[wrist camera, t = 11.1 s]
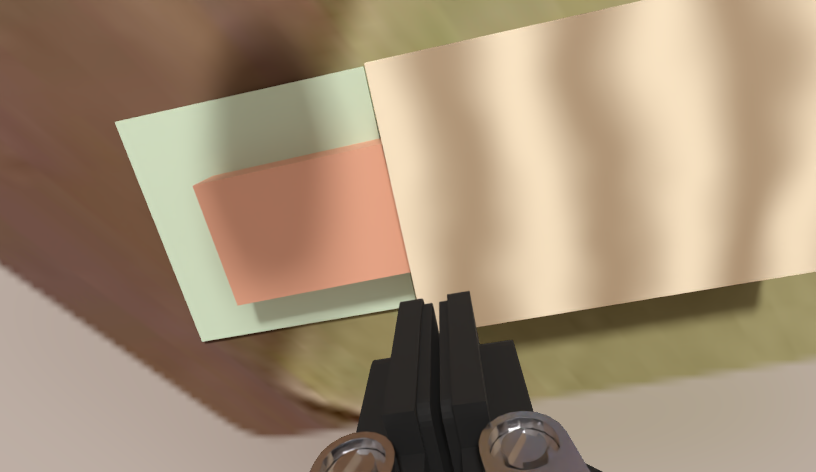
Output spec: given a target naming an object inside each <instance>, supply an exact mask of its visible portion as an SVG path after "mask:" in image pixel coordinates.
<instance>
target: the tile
mask: <svg viewBox="0 0 816 472" xmlns="http://www.w3.org/2000/svg"><path fill="white" fill-rule="evenodd" d="M193 189H194V192H195V194H196V197H197V200H198V202H199V205H200V208H201V210H202V213H203V216H204V218H205V221H206V223H207V226H208V229H209V231H210V234H211V237H212V239H213V242H214V245H215V247H216V250H217V253H218V255H219V258H220V260H221V263H222V266H223V268H224V271H225V274H226V276H227V279H228V282H229V284H230V287H231V290H232V292H233V295H234V298H235V300H236V303H237V305H244V304H249V303H254V302H259V301H264V300H270V299H275V298H280V297H285V296H290V295H296V294H301V293H306V292H311V291H316V290H321V289H327V288H332V287H337V286H342V285H347V284H353V283H358V282H363V281H368V280H373V279H379V278H384V277H389V276H394V275H399V274H405V273H410V272H411V271H410V266H409V262H408V257H407V253H406V248H405V244H404V239H403V235H402V230H401V226H400V221H399V217H398V213H397V208H396V204H395V199H394V195H393V190H392V186H391V181H390V177H389V172H388V168H387V163H386V159H385V154H384V150H383V145H382V141H381V138H379V139H375V140H370V141H366V142H361V143H357V144H352V145H348V146H344V147H339V148H335V149H330V150H326V151H321V152H317V153H312V154H308V155H303V156H299V157H294V158H290V159H285V160H281V161H277V162H272V163H268V164H263V165H259V166H254V167H250V168H245V169H241V170H236V171H232V172H227V173H223V174H218V175H214V176H211V177H209V178H207V179H205V180H203V181H201V182H199V183H197V184H195V185H193Z"/></svg>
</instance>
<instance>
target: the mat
mask: <svg viewBox="0 0 816 472" xmlns="http://www.w3.org/2000/svg"><path fill="white" fill-rule="evenodd" d="M115 124H116V127H117V129H118V132H119V134H120V137H121V139H122V142H123V144H124V147H125V149H126V152H127V154H128V157H129V159H130V162H131V164H132V167H133V169H134V172H135V174H136V177H137V179H138V182H139V184H140V187H141V189H142V192H143V194H144V197H145V199H146V202H147V204H148V207H149V209H150V212H151V214H152V217H153V219H154V222H155V224H156V227H157V229H158V232H159V234H160V237H161V239H162V242H163V244H164V247H165V250H166V252H167V255H168V257H169V260H170V262H171V265H172V267H173V270H174V272H175V275H176V277H177V280H178V282H179V285H180V287H181V290H182V292H183V295H184V297H185V300H186V302H187V305H188V307H189V310H190V312H191V315H192V317H193V320H194V322H195V325H196V327H197V330H198V332H199V335H200V337H201V340H202V342H204V341H210V340H215V339H221V338H227V337H233V336H239V335H245V334H250V333H256V332H262V331H268V330H274V329H280V328H286V327H291V326H297V325H303V324H309V323H315V322H321V321H326V320H332V319H338V318H344V317H350V316H356V315H362V314H367V313H373V312H379V311H385V310H391V309H397V308H399V304H400V302H403V301H409V300H415V299H416V296H415V292H414V287H413V283H412V278H411V274H410V273H405V274H399V275H394V276H389V277H384V278H379V279H373V280H368V281H363V282H358V283H353V284H347V285H342V286H337V287H332V288H327V289H321V290H316V291H311V292H306V293H301V294H296V295H290V296H285V297H280V298H275V299H270V300H264V301H259V302H254V303H249V304H244V305H237V303H236V300H235V298H234V295H233V292H232V290H231V287H230V284H229V282H228V279H227V276H226V274H225V271H224V268H223V266H222V263H221V260H220V258H219V255H218V253H217V250H216V247H215V245H214V242H213V239H212V237H211V234H210V231H209V229H208V226H207V223H206V221H205V218H204V216H203V213H202V210H201V208H200V205H199V202H198V200H197V197H196V194H195V192H194V189H193V185H195V184H197V183H199V182H201V181H203V180H205V179H207V178H209V177H211V176H214V175H218V174H223V173H227V172H232V171H236V170H241V169H245V168H250V167H254V166H259V165H263V164H268V163H272V162H277V161H281V160H285V159H290V158H294V157H299V156H303V155H308V154H312V153H317V152H321V151H326V150H330V149H335V148H339V147H344V146H348V145H352V144H357V143H361V142H366V141H370V140H375V139H379V138H380V135H379V131H378V127H377V122H376V118H375V113H374V109H373V104H372V100H371V95H370V91H369V86H368V82H367V77H366V73H365V68H364V66H363V67H359V68H354V69H350V70H345V71H341V72H336V73H332V74H327V75H323V76H319V77H314V78H310V79H305V80H301V81H296V82H292V83H287V84H283V85H278V86H274V87H269V88H265V89H260V90H256V91H251V92H247V93H243V94H238V95H234V96H229V97H225V98H220V99H216V100H211V101H207V102H202V103H198V104H193V105H189V106H184V107H180V108H176V109H171V110H167V111H162V112H158V113H153V114H149V115H144V116H140V117H135V118H131V119H126V120H122V121H117V122H115Z"/></svg>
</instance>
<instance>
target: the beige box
mask: <svg viewBox="0 0 816 472" xmlns="http://www.w3.org/2000/svg"><path fill="white" fill-rule="evenodd" d="M364 65H365V69H366V74H367V78H368V83H369V87H370V92H371V96H372V101H373V105H374V110H375V114H376V119H377V123H378V128H379V132H380V136H381V141H382V145H383V150H384V154H385V159H386V163H387V168H388V172H389V177H390V181H391V186H392V190H393V195H394V199H395V204H396V208H397V213H398V217H399V221H400V226H401V230H402V235H403V239H404V244H405V248H406V253H407V257H408V262H409V266H410V271H411V275H412V280H413V284H414V289H415V293H416V298H417V299H422V298H423V300H424V303H425V304H428V303H433V306H434V311H435V315H436V320H437V325H438V329H439V302H441V301H447V294H452V293H458V292H465V291H470V295H471V301H472V306H473V312H474V317H475V322H476V327H481V326H487V325H493V324H499V323H505V322H511V321H517V320H524V319H530V318H536V317H542V316H548V315H554V314H560V313H566V312H572V311H578V310H584V309H590V308H597V307H603V306H609V305H615V304H621V303H627V302H633V301H639V300H645V299H651V298H657V297H663V296H670V295H676V294H682V293H688V292H694V291H700V290H706V289H712V288H718V287H724V286H730V285H737V284H743V283H749V282H755V281H761V280H767V279H773V278H779V277H785V276H791V275H797V274H803V273H810V272H816V0H643V1H638V2H634V3H629V4H625V5H620V6H616V7H612V8H607V9H603V10H598V11H594V12H589V13H585V14H580V15H576V16H571V17H567V18H563V19H558V20H554V21H549V22H545V23H540V24H536V25H531V26H527V27H522V28H518V29H514V30H509V31H505V32H500V33H496V34H491V35H487V36H482V37H478V38H473V39H469V40H465V41H460V42H456V43H451V44H447V45H442V46H438V47H433V48H429V49H424V50H420V51H416V52H411V53H407V54H402V55H398V56H393V57H389V58H384V59H380V60H375V61H371V62H367V63H364Z"/></svg>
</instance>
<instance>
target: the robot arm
mask: <svg viewBox="0 0 816 472" xmlns="http://www.w3.org/2000/svg"><path fill="white" fill-rule="evenodd" d="M310 472H602V471H600V470H598V469H596V468H594V467H592V466H590V465H588V464H586V463H585V462H584V460H583V459H582V457H581V455H580V454H579V452H578V451H577V448H576V447H575V445H574V443H573V442H572V440H571V438H570V437H569V435H568V433H567V431H565V429H564V428H563V427H562V426H561V424H560V423H559V422H557V421H555V420H554V419H552V418H551V417H549V416H547V415H544V414H540V413H537V412H533V408H532V405H531V401H530V398H529V394H528V391H527V387H526V384H525V380H524V377H523V373H522V370H521V366H520V363H519V359H518V356H517V352H516V349H515V345H514V342H513V340H507V341H500V342H493V343H487V344H479V339H478V333H477V328H476V322H475V317H474V312H473V306H472V301H471V295H470V291H465V292H458V293H452V294H447V301H441V302H439V329H438V325H437V320H436V315H435V311H434V306H433V303H428V304H425V303H424V300H423V298H422V299H415V300H409V301H403V302H400V304H399V310H398V316H397V323H396V329H395V335H394V341H393V347H392V354H391V358H386V359H379V360H374V361H373V362H372V365H371V369H370V373H369V378H368V382H367V387H366V391H365V395H364V400H363V404H362V409H361V413H360V418H359V422H358V427H357V431H356V433H352V434H349V435H346V436H344V437H341V438H339V439H338V440H336V441H335V442H333V443H331V444H330V445H329V446H327V448H325V449H324V450H323V451H322V452H321V453H320V455H319V456H318V458H317V459H316V461H315V462H314V464H313V466H312V468H311V470H310Z"/></svg>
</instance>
